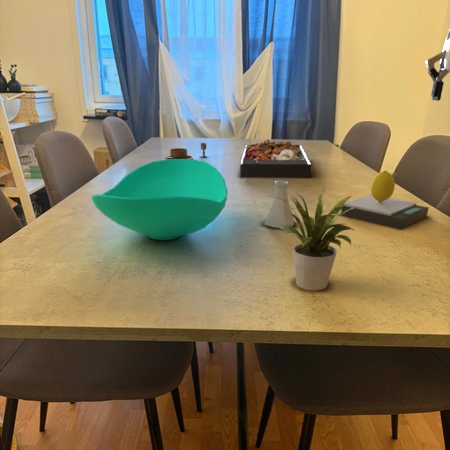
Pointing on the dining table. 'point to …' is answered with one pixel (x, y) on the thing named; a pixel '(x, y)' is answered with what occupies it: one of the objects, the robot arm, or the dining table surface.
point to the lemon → (382, 186)
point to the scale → (384, 211)
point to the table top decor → (166, 198)
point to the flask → (280, 208)
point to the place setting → (184, 153)
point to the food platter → (275, 160)
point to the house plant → (316, 244)
